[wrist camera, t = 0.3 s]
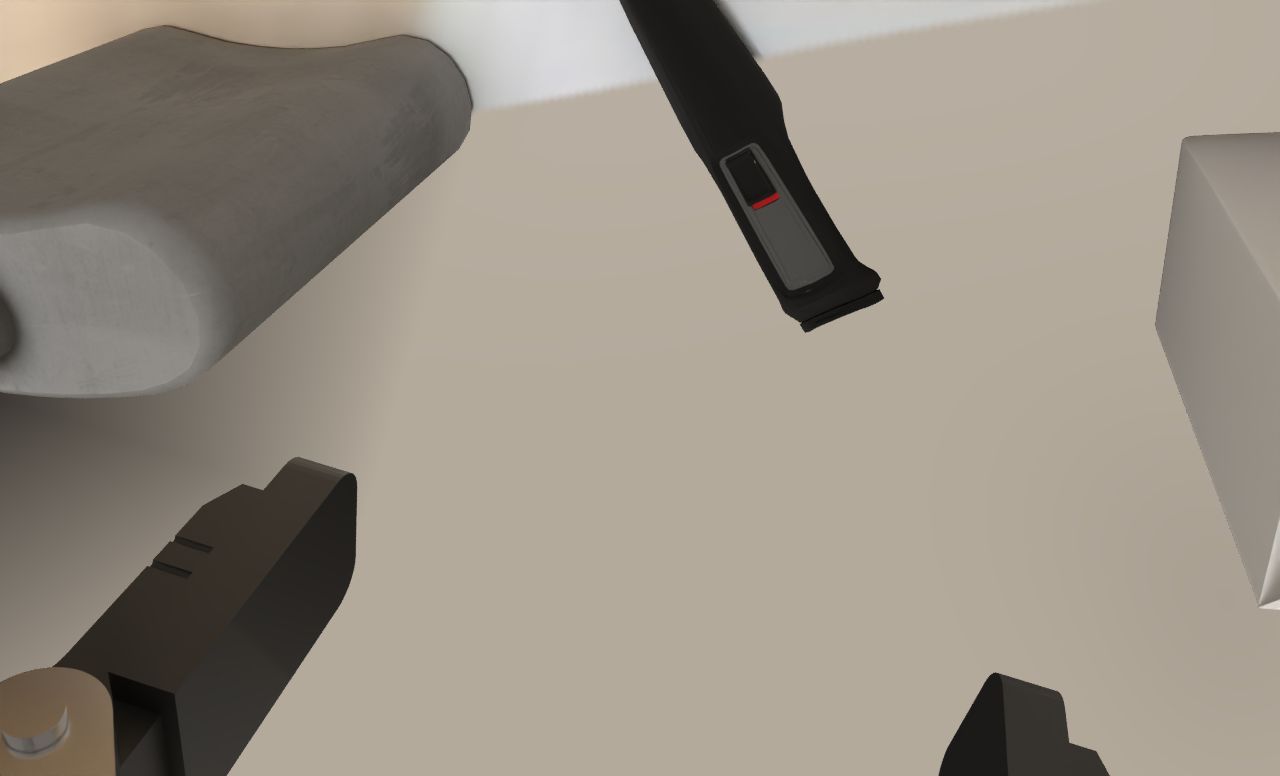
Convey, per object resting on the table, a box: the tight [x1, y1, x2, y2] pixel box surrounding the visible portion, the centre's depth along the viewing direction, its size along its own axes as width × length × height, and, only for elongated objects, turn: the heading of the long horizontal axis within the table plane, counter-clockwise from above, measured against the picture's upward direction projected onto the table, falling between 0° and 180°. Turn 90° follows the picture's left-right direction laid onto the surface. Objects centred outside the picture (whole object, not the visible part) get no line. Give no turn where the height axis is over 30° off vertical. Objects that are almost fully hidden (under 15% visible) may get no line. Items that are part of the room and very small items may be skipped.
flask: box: [0, 26, 472, 398], centre depth 33 cm, size 15×6×20 cm, turn 91°
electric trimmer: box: [620, 0, 884, 333], centre depth 37 cm, size 4×16×3 cm, turn 32°
